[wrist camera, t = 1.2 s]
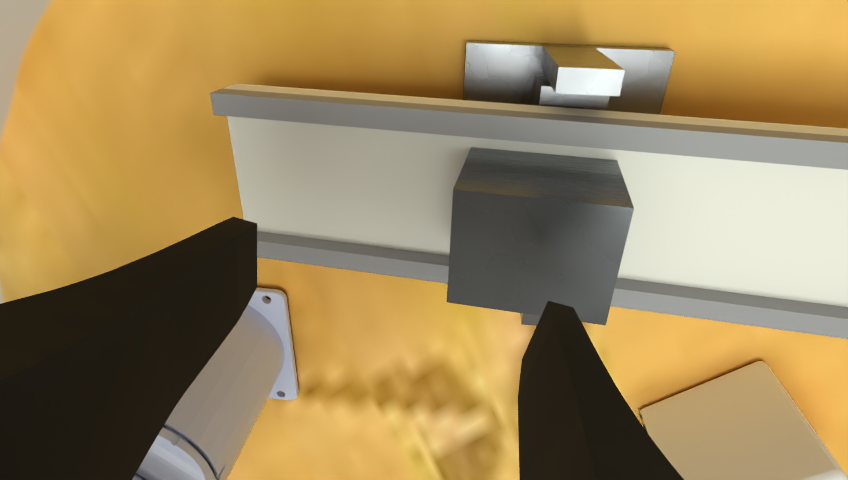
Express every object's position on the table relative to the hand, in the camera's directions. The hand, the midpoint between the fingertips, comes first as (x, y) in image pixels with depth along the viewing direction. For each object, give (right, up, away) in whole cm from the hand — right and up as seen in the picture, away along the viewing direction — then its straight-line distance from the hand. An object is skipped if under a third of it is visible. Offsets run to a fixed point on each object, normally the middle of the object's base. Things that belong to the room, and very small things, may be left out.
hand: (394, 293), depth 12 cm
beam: (+6, +4, +9) cm, 11 cm away
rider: (+5, +3, +6) cm, 8 cm away
